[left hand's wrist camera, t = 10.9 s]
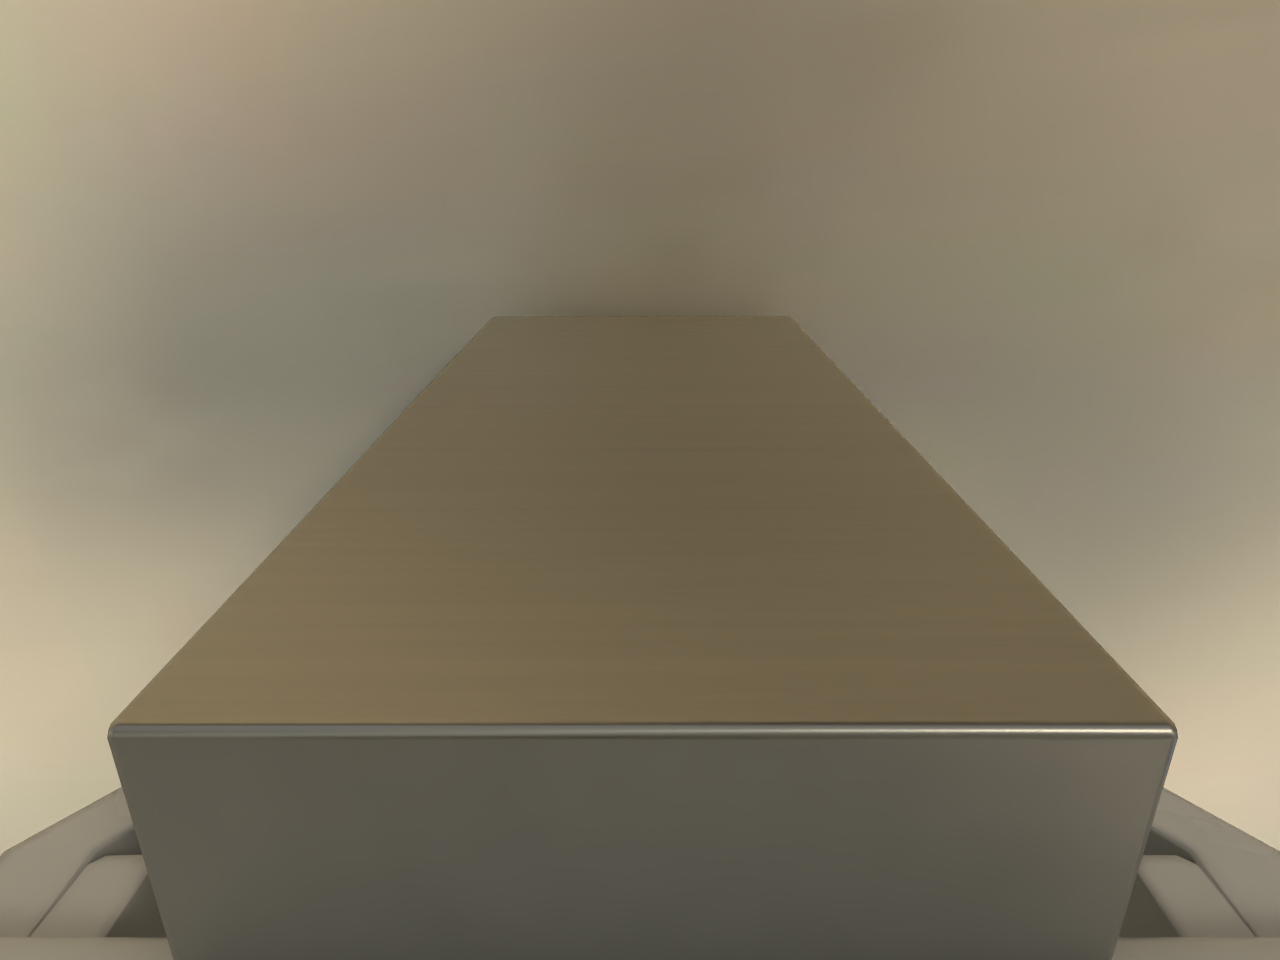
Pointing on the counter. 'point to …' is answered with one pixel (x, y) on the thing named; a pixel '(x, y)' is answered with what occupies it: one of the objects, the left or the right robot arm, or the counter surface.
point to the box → (642, 688)
